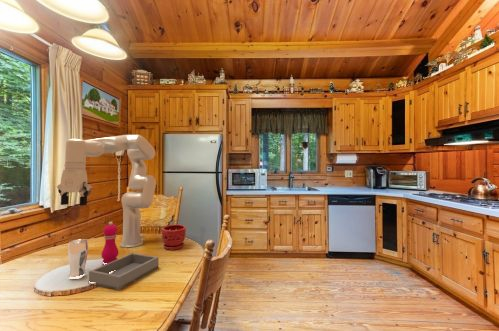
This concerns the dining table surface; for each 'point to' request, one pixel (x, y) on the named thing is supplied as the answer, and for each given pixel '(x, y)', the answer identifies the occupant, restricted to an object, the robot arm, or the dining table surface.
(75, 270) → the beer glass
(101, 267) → the tote
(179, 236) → the plant pot
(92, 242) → the dining table surface
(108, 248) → the pepper mill
